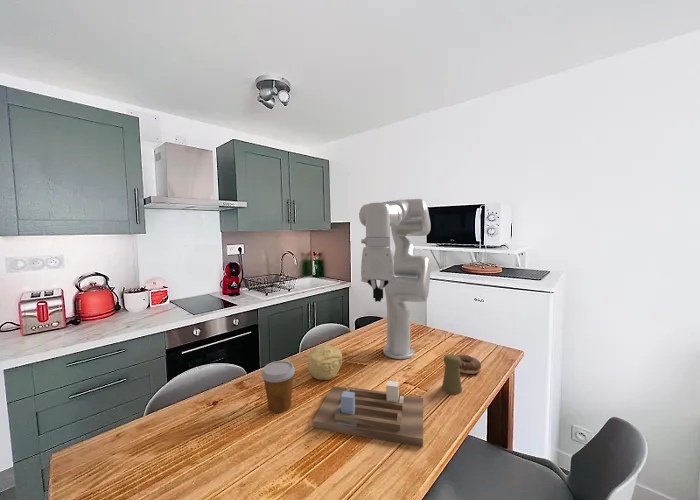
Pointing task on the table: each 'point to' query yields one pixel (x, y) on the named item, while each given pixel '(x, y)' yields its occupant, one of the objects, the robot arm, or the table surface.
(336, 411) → the switch board
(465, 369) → the donut
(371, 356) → the table surface
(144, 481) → the table surface
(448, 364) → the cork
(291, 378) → the disposable coffee cup
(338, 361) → the sculpture
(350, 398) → the slate-blue tab
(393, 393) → the cream tab
